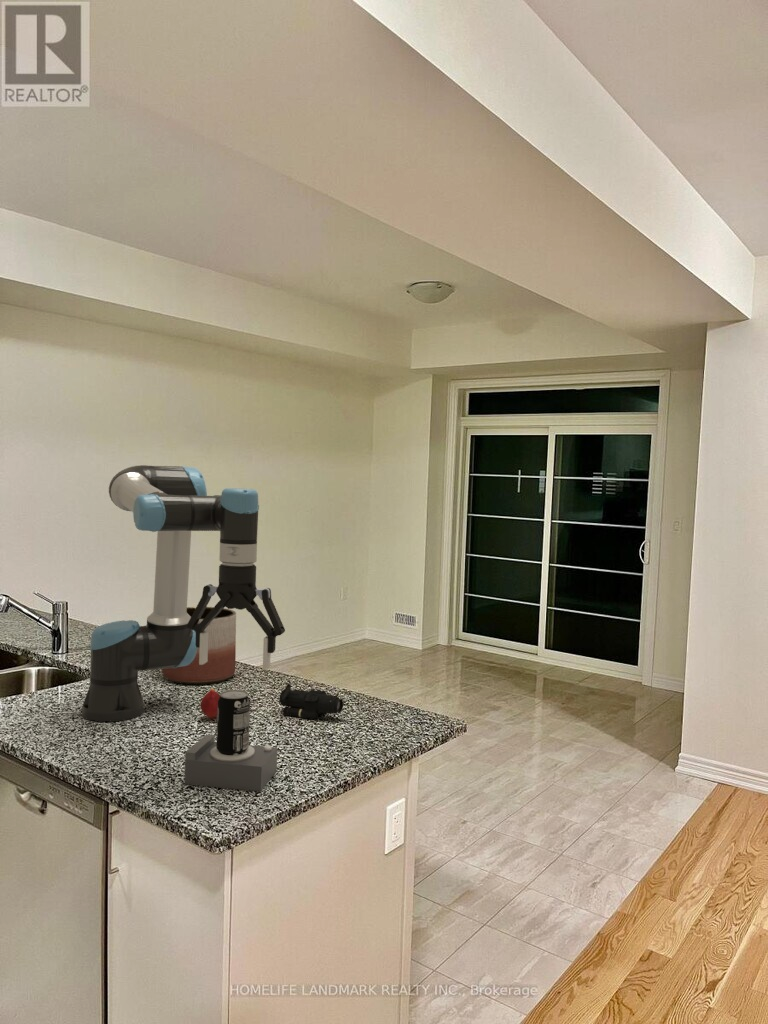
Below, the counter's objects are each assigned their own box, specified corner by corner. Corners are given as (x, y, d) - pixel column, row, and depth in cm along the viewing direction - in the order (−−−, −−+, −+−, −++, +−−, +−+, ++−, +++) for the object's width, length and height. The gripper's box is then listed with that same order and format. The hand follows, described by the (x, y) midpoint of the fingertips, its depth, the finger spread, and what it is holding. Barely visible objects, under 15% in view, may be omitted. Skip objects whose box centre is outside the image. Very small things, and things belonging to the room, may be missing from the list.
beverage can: (218, 744, 159) (220, 688, 159) (250, 745, 160) (251, 689, 159) (214, 756, 153) (215, 698, 152) (246, 756, 153) (248, 698, 153)
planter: (249, 675, 237) (251, 612, 237) (197, 690, 219) (199, 622, 218) (200, 664, 249) (201, 604, 248) (146, 677, 231) (148, 612, 230)
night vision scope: (340, 729, 196) (327, 713, 189) (282, 720, 203) (266, 704, 196) (349, 701, 200) (336, 684, 193) (292, 693, 208) (277, 676, 201)
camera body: (184, 784, 152) (185, 752, 152) (205, 764, 163) (206, 734, 163) (260, 791, 150) (261, 759, 150) (276, 770, 161) (277, 740, 160)
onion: (227, 717, 195) (228, 686, 195) (215, 723, 190) (216, 692, 190) (208, 714, 197) (208, 684, 197) (195, 720, 192) (196, 689, 192)
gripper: (172, 562, 153) (169, 665, 154) (291, 569, 149) (288, 675, 150) (187, 558, 160) (184, 656, 161) (301, 565, 157) (297, 665, 158)
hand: (234, 665), depth 156 cm, fingers open, 13 cm apart
